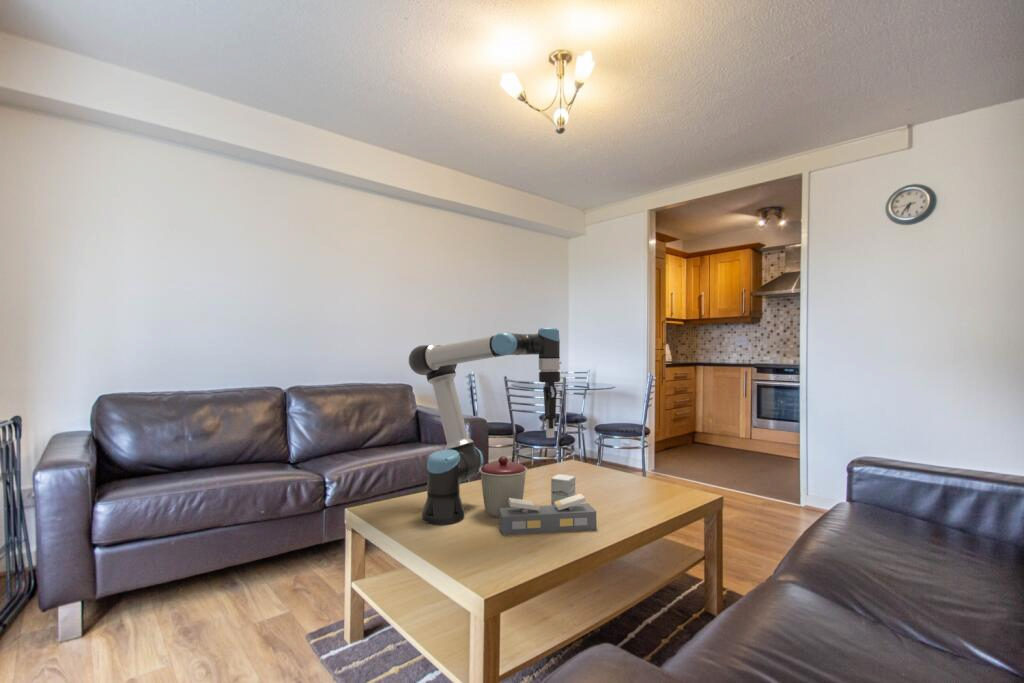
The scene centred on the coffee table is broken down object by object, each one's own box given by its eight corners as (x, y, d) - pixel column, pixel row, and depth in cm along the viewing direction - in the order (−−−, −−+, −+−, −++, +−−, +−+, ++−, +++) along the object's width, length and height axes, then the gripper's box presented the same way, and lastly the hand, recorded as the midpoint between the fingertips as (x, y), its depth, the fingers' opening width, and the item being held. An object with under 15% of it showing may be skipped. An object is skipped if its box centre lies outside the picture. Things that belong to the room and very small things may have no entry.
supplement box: (550, 511, 178) (550, 477, 178) (558, 506, 184) (557, 473, 185) (569, 514, 174) (568, 480, 175) (576, 508, 181) (575, 475, 181)
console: (502, 535, 155) (502, 512, 155) (499, 525, 164) (499, 503, 164) (596, 529, 159) (596, 507, 160) (588, 520, 168) (588, 499, 169)
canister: (522, 523, 165) (522, 462, 166) (472, 520, 169) (472, 460, 170) (531, 507, 183) (531, 452, 184) (486, 504, 187) (485, 450, 188)
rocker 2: (558, 510, 160) (557, 506, 160) (554, 505, 165) (553, 501, 165) (585, 501, 161) (584, 497, 161) (581, 497, 166) (580, 492, 166)
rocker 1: (510, 506, 158) (511, 501, 158) (508, 501, 163) (509, 497, 163) (539, 510, 159) (540, 505, 159) (536, 505, 164) (537, 501, 164)
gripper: (563, 371, 163) (564, 440, 162) (556, 370, 176) (557, 434, 175) (542, 371, 162) (543, 440, 162) (536, 370, 175) (537, 434, 175)
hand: (550, 437), depth 168 cm, fingers closed
